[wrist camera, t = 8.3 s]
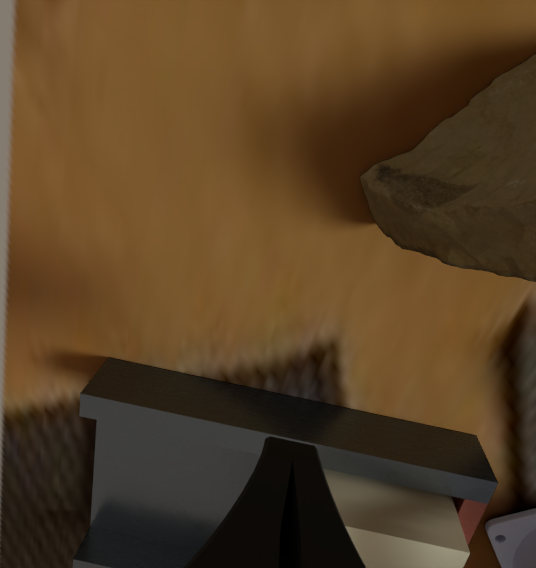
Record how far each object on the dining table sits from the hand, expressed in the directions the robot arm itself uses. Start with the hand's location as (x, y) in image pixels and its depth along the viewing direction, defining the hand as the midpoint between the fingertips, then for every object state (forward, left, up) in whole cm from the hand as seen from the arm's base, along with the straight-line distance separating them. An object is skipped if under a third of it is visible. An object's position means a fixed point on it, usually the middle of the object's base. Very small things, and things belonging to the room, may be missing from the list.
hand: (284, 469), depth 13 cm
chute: (-8, +5, -9) cm, 14 cm away
